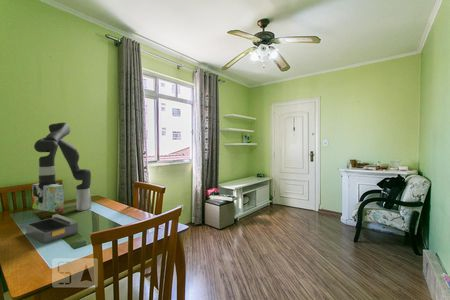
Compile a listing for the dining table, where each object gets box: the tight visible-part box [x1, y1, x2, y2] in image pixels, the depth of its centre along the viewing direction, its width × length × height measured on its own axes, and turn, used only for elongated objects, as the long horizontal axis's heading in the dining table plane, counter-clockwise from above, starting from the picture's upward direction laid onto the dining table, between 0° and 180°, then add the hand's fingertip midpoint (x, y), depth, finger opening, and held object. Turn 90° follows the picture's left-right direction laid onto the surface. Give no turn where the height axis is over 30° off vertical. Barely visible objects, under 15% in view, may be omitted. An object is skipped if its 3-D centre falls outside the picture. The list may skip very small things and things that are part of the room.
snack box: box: [31, 182, 65, 213], centre depth 124 cm, size 21×6×15 cm, turn 70°
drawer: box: [25, 213, 79, 245], centre depth 126 cm, size 16×26×8 cm, turn 60°
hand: (47, 201), depth 125 cm, fingers closed on snack box, 6 cm apart
